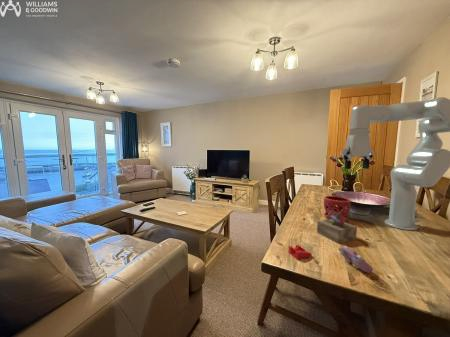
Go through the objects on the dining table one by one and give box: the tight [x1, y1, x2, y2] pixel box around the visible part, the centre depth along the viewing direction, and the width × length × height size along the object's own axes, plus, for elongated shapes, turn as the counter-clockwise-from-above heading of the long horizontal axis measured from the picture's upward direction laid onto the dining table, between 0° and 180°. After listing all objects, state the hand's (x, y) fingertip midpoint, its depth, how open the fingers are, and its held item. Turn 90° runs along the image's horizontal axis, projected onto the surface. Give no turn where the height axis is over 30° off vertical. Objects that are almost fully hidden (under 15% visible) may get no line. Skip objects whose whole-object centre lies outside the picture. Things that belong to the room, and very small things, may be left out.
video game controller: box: [338, 245, 374, 274], centre depth 65 cm, size 10×5×7 cm, turn 6°
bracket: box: [288, 244, 313, 261], centre depth 71 cm, size 6×5×3 cm
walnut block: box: [316, 218, 358, 244], centre depth 87 cm, size 11×11×6 cm
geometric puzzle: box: [328, 210, 348, 226], centre depth 85 cm, size 7×7×8 cm
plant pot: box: [323, 195, 352, 221], centre depth 108 cm, size 13×13×12 cm
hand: (356, 168), depth 92 cm, fingers open, 9 cm apart
